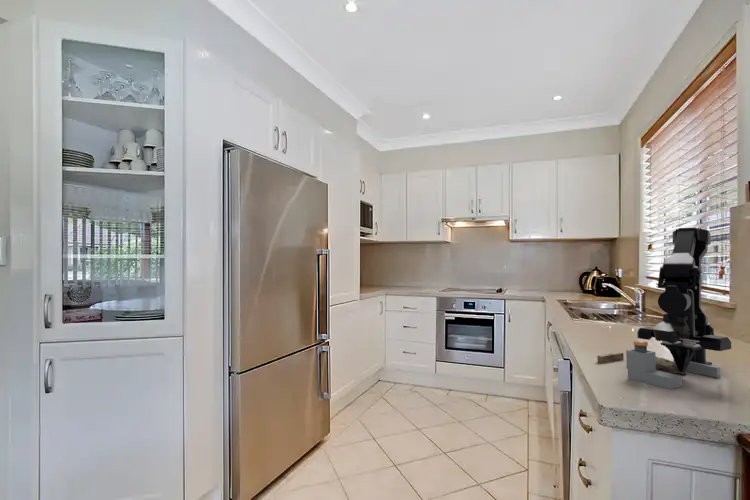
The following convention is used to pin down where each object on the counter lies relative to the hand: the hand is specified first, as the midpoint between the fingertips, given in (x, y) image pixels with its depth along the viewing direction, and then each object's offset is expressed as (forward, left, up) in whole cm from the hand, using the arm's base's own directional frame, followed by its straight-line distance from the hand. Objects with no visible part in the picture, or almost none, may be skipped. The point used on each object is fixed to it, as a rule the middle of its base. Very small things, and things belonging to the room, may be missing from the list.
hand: (681, 371), depth 101 cm
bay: (+2, -1, -2) cm, 2 cm away
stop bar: (0, -19, -2) cm, 19 cm away
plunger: (+10, -4, +2) cm, 11 cm away
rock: (-1, -6, -2) cm, 7 cm away
